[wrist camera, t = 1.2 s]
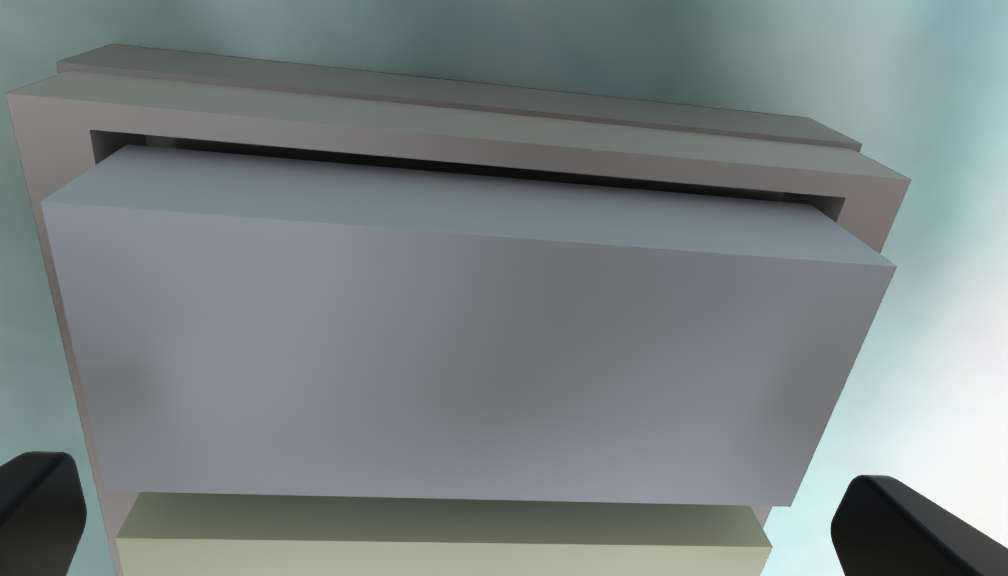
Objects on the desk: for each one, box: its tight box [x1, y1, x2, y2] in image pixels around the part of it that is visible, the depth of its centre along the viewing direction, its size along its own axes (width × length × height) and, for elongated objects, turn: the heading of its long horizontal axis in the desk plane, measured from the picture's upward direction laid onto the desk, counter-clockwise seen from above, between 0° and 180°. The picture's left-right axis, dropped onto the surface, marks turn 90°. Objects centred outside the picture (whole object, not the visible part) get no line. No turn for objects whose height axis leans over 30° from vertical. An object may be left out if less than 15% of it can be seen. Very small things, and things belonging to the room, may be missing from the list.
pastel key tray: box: [6, 44, 911, 576], centre depth 17 cm, size 14×23×4 cm, turn 173°
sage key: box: [115, 492, 772, 576], centre depth 13 cm, size 11×5×2 cm, turn 83°
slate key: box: [41, 145, 897, 507], centre depth 10 cm, size 11×5×2 cm, turn 83°
